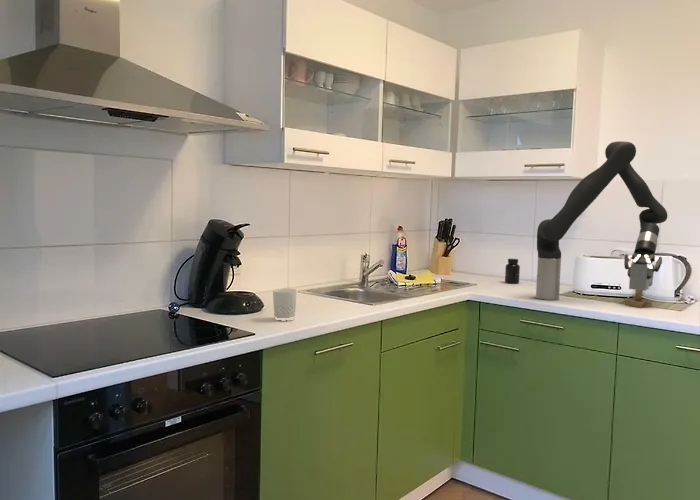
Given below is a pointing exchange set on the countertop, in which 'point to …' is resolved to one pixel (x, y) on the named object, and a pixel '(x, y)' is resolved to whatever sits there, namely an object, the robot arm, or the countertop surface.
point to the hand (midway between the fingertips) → (638, 277)
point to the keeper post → (638, 301)
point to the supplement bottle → (512, 272)
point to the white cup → (284, 303)
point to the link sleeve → (639, 276)
